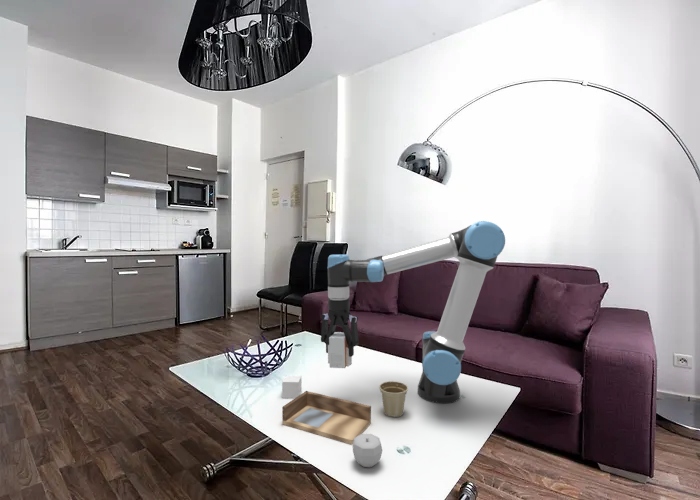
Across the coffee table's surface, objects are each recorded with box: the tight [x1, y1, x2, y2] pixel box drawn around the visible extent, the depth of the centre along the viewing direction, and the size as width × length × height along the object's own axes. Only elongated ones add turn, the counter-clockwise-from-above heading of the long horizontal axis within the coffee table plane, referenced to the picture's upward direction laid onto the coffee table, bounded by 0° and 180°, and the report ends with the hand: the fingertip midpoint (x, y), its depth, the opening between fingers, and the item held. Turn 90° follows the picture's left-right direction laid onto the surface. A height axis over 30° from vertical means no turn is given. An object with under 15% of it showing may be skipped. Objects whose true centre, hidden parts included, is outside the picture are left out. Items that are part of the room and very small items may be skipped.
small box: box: [329, 331, 348, 369], centre depth 122 cm, size 8×6×10 cm
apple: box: [352, 433, 383, 468], centre depth 88 cm, size 8×8×7 cm
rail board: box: [281, 390, 372, 446], centre depth 107 cm, size 24×13×5 cm, turn 63°
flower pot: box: [378, 380, 409, 418], centre depth 114 cm, size 9×9×9 cm
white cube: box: [281, 375, 302, 399], centre depth 128 cm, size 6×6×6 cm
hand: (339, 363), depth 122 cm, fingers closed on small box, 7 cm apart
